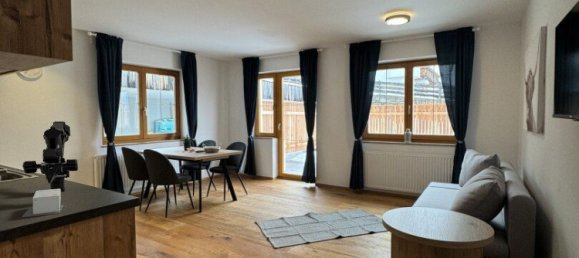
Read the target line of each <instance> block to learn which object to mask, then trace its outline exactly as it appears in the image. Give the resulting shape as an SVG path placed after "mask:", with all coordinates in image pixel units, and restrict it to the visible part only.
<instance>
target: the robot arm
mask: <svg viewBox="0 0 579 258" xmlns="http://www.w3.org/2000/svg"><path fill="white" fill-rule="evenodd" d="M70 137H71V126H69V125H68V124H66V121H63V120H62V121H60V120H59V121H56V120H55V121H53V122H52V125H51V126H50V127H49V128H48V129H46V130H45V131H44V132H43V140H44V143H45V145H46V146H45V147H46V148H44V149H42V162H40V163H37V161H36V160H24V161H23V162H22V169H23V171H24V173H25V174H35V173H37V172H38V170H40V173H41V174H42V175H44V176H45V180H47V183H48V184H49V190H51V189H61V192H65V191H66V190H67V187H66V186H65V181H66V179H68V178H70V172H77V171H78V170H79V162H78V159H76V158H72V159H71V158H70V159H65V157H64V156H65V155H64V154H65V146H66V145H65V144H66V142H68V141H69V138H70Z"/></svg>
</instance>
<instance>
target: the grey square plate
mask: <svg viewBox="0 0 579 258" xmlns="http://www.w3.org/2000/svg"><path fill="white" fill-rule="evenodd" d="M64 205H65V204H60V210H59V212H51V213H43V214H34V215H33V207H29V208H28V209H27V210H26V211H25V212H24V213H23V215H22V217H21V218H30V217H38V216H49V215H57V214H60V213H61V211H62V209H63V207H64Z"/></svg>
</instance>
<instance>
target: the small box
mask: <svg viewBox="0 0 579 258" xmlns="http://www.w3.org/2000/svg"><path fill="white" fill-rule="evenodd" d="M61 193H62V191H61V189H51V190H50V189H43V190H42V189H40V190H36V191H35V192H34V194H33V197H32V208H33V215H34V214H43V213H51V212H59V210H60V205H61V202H62V201H61V199H62V198H61V196H62V195H61Z"/></svg>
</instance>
